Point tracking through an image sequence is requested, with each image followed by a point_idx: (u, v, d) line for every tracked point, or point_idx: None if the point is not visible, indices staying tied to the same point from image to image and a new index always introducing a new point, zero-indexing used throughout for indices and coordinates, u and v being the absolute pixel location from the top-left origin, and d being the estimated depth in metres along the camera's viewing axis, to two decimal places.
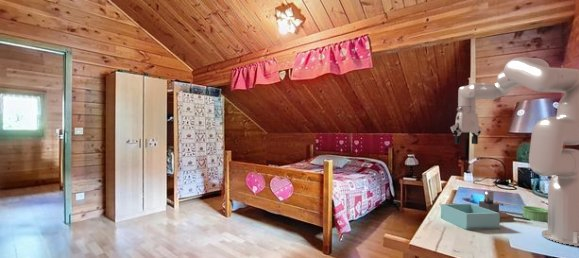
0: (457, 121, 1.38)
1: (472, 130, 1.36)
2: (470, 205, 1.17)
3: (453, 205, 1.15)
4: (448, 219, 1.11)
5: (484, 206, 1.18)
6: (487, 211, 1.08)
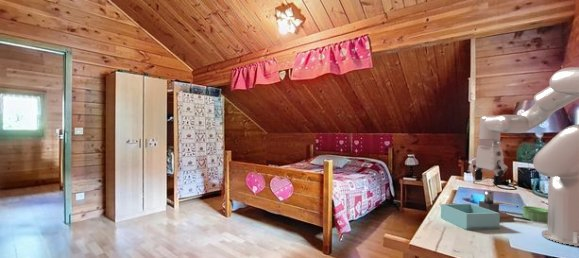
0: (498, 158, 1.14)
1: None
2: (470, 205, 1.17)
3: (453, 205, 1.15)
4: (448, 219, 1.11)
5: (484, 206, 1.18)
6: (487, 211, 1.08)
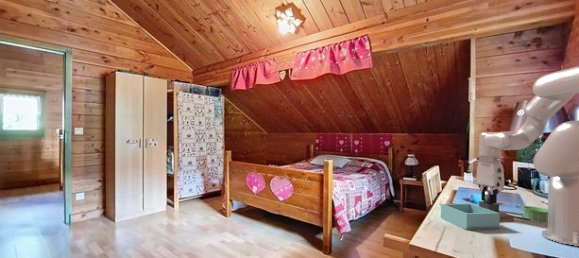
0: (498, 175, 1.14)
1: None
2: (470, 205, 1.17)
3: (453, 205, 1.15)
4: (448, 219, 1.11)
5: (484, 206, 1.18)
6: (487, 211, 1.08)
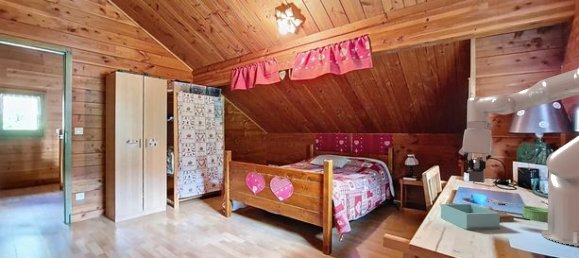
0: None
1: None
2: (470, 205, 1.17)
3: (453, 205, 1.15)
4: (448, 219, 1.11)
5: (477, 175, 1.11)
6: (487, 211, 1.08)
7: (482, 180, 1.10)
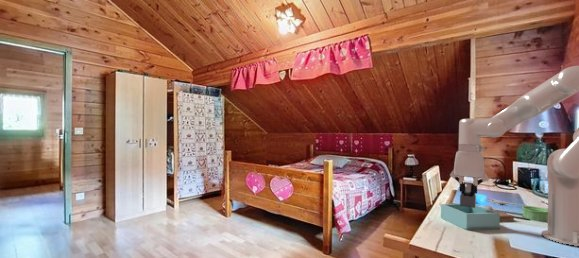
0: None
1: None
2: None
3: (453, 205, 1.15)
4: (448, 219, 1.11)
5: (468, 200, 1.08)
6: (487, 211, 1.08)
7: (473, 205, 1.07)
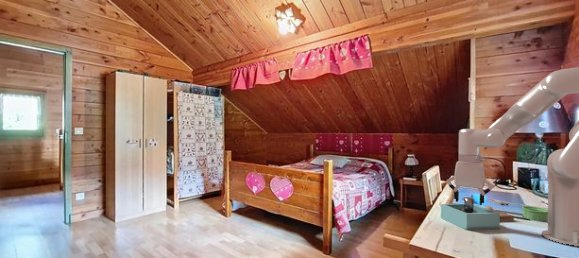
0: None
1: None
2: None
3: (453, 205, 1.15)
4: (448, 219, 1.11)
5: None
6: (487, 211, 1.08)
7: None
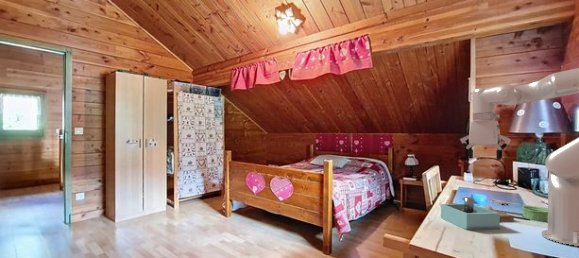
0: (498, 131, 1.08)
1: None
2: None
3: (453, 205, 1.15)
4: (448, 219, 1.11)
5: None
6: (487, 211, 1.08)
7: None
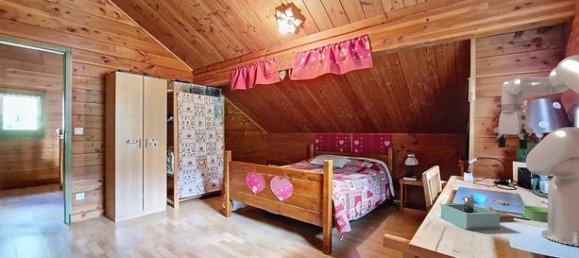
0: (523, 121, 1.13)
1: None
2: None
3: (453, 205, 1.15)
4: (448, 219, 1.11)
5: None
6: (487, 211, 1.08)
7: None
